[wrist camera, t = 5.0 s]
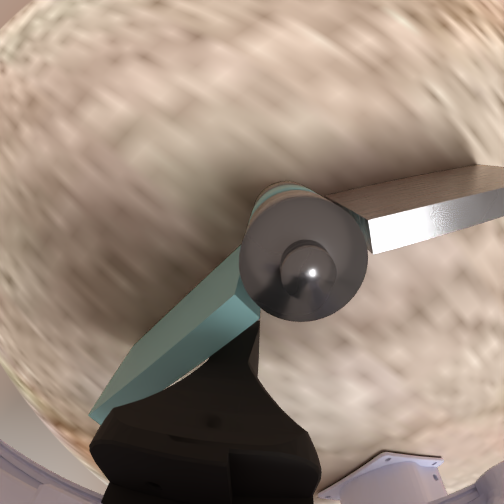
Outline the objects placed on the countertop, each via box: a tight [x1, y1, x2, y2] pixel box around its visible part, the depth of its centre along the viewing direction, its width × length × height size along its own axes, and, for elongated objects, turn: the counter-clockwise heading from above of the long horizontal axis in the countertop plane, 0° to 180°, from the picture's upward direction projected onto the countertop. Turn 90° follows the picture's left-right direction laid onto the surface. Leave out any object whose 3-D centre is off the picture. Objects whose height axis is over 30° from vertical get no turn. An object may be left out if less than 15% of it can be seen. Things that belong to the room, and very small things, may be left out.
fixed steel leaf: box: [239, 165, 504, 322], centre depth 7 cm, size 11×3×6 cm, turn 105°
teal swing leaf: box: [88, 185, 319, 425], centre depth 9 cm, size 11×3×5 cm, turn 134°
